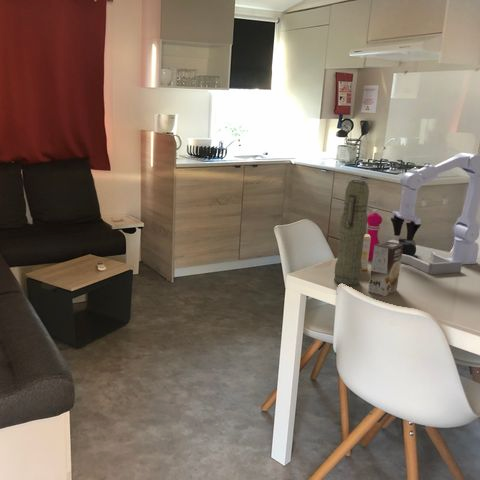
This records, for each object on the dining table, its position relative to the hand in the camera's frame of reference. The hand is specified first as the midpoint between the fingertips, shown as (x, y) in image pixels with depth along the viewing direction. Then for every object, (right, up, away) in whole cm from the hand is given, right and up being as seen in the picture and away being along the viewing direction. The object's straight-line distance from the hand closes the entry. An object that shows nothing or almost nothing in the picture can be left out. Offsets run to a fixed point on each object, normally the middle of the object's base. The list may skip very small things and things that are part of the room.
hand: (403, 238), depth 212 cm
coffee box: (-17, -18, -33) cm, 41 cm away
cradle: (+10, -11, -1) cm, 15 cm away
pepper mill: (-12, -8, +6) cm, 16 cm away
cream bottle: (-21, -12, -9) cm, 26 cm away
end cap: (+5, -8, +12) cm, 15 cm away
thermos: (-27, -15, -26) cm, 40 cm away
